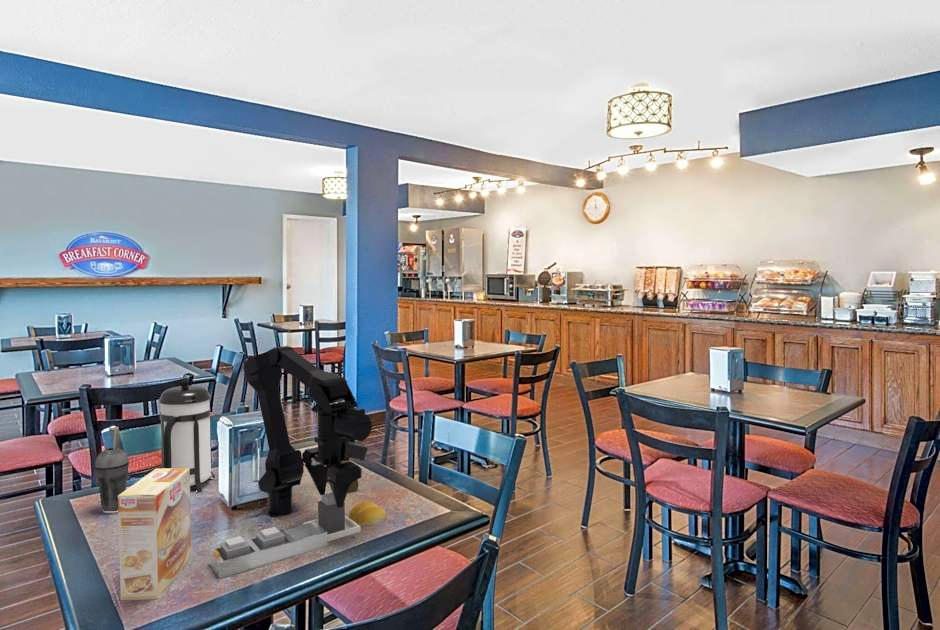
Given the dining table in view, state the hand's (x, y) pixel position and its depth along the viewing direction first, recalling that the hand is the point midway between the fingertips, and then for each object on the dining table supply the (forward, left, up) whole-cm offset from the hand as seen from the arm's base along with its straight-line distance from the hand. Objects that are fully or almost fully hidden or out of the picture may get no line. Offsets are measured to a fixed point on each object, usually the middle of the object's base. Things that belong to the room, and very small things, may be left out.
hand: (331, 500), depth 131 cm
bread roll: (-1, +10, -8) cm, 13 cm away
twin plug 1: (+3, -22, -7) cm, 23 cm away
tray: (0, 0, -7) cm, 7 cm away
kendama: (-28, +15, -8) cm, 32 cm away
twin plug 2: (+3, -15, -7) cm, 17 cm away
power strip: (+3, -15, -7) cm, 17 cm away
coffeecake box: (-1, -35, -8) cm, 36 cm away
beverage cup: (-44, -37, -8) cm, 58 cm away
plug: (0, 0, -7) cm, 7 cm away
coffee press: (-50, -19, -8) cm, 54 cm away
